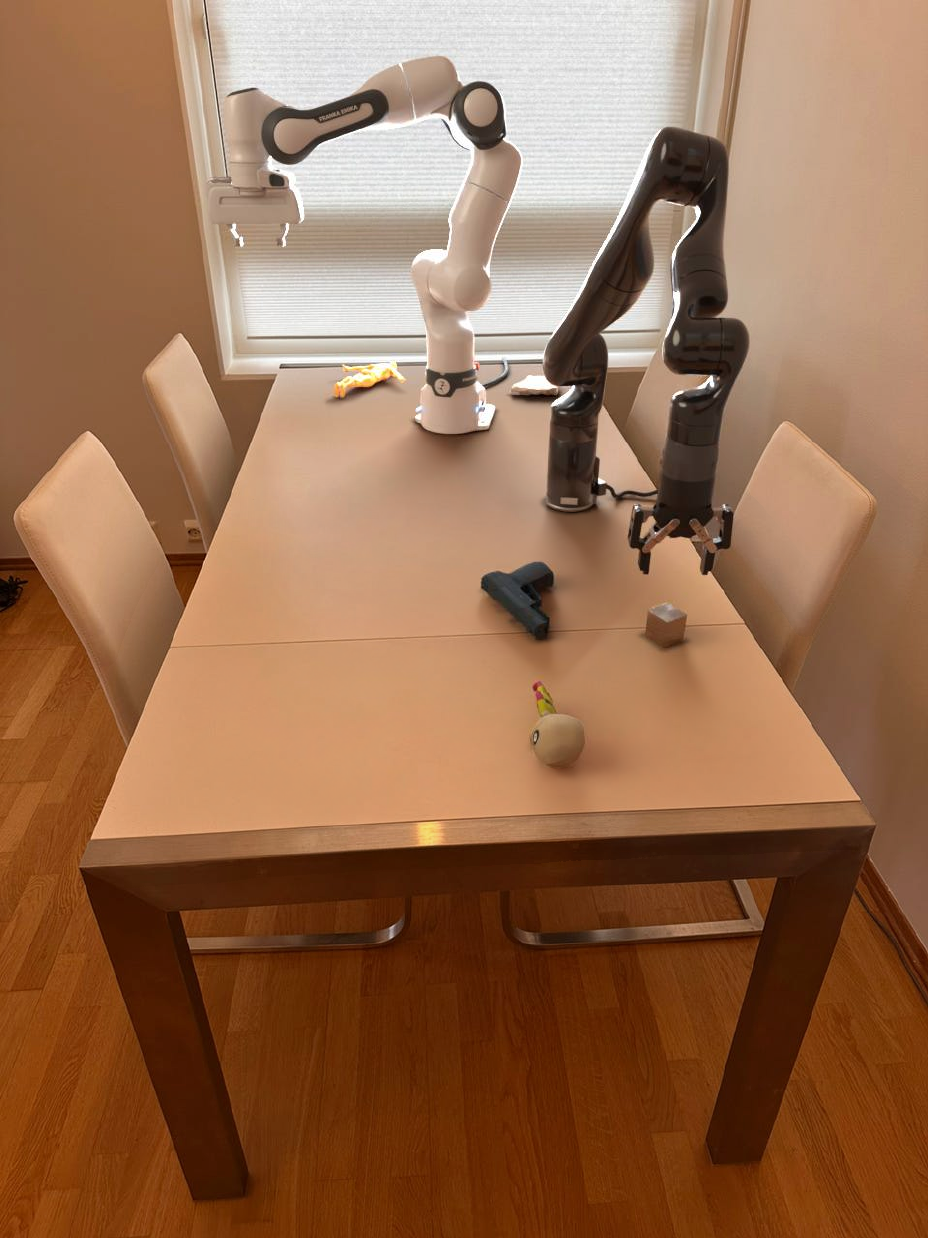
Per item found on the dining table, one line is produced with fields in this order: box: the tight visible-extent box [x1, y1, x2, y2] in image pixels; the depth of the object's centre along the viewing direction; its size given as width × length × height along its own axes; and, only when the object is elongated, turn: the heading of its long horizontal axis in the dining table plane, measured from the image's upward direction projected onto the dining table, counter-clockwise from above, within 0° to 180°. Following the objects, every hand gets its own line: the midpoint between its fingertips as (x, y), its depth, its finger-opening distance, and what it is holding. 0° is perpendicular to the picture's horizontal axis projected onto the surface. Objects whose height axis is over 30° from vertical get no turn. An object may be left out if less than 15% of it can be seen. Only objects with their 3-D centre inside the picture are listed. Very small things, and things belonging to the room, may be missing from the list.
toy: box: [529, 680, 586, 769], centre depth 115 cm, size 6×7×15 cm
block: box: [644, 602, 688, 649], centre depth 135 cm, size 4×4×5 cm
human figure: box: [333, 361, 408, 398], centre depth 242 cm, size 20×20×4 cm
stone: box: [509, 375, 560, 396], centre depth 238 cm, size 13×12×2 cm
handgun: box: [480, 561, 555, 640], centre depth 143 cm, size 3×18×12 cm
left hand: (260, 245), depth 197 cm, fingers open, 8 cm apart
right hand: (674, 572), depth 130 cm, fingers open, 8 cm apart
